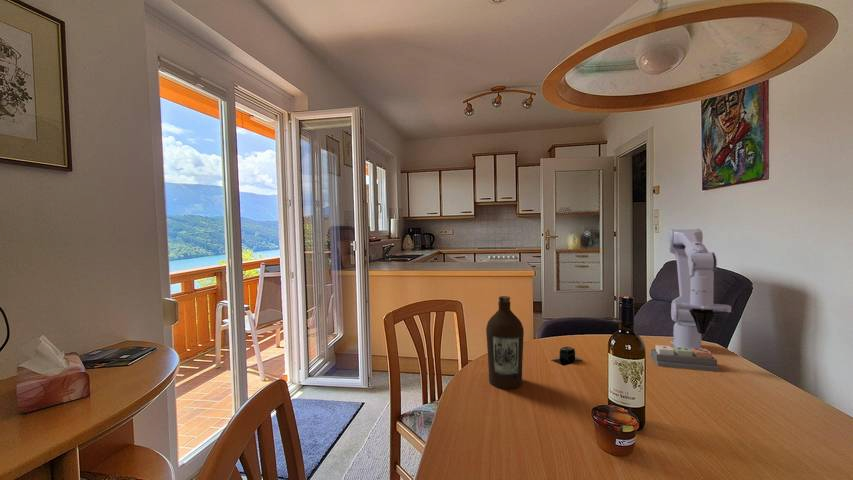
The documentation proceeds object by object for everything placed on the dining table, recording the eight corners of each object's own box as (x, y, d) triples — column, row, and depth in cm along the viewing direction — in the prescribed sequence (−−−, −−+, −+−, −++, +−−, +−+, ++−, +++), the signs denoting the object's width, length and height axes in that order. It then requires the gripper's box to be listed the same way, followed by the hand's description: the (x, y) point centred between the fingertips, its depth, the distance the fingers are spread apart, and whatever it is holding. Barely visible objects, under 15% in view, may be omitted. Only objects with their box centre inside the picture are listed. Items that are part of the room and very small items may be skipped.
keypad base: (650, 356, 117) (650, 347, 117) (706, 361, 112) (706, 352, 112) (657, 365, 110) (658, 355, 110) (718, 371, 105) (718, 361, 104)
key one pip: (655, 351, 115) (655, 344, 115) (669, 352, 114) (669, 345, 114) (659, 355, 111) (659, 348, 111) (674, 356, 110) (674, 349, 110)
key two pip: (673, 352, 113) (673, 346, 113) (687, 353, 112) (687, 347, 112) (677, 356, 110) (677, 350, 109) (692, 358, 108) (692, 351, 108)
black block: (562, 369, 110) (562, 355, 110) (545, 361, 116) (545, 348, 116) (589, 362, 115) (589, 348, 115) (571, 354, 122) (571, 342, 122)
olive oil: (486, 373, 106) (485, 293, 105) (521, 375, 105) (521, 293, 104) (487, 389, 96) (486, 300, 95) (526, 391, 94) (525, 301, 93)
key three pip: (691, 353, 112) (691, 347, 112) (705, 355, 111) (705, 348, 110) (696, 358, 108) (696, 351, 108) (711, 359, 107) (711, 352, 107)
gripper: (679, 291, 107) (679, 334, 107) (736, 293, 103) (736, 338, 103) (671, 288, 114) (671, 328, 114) (724, 289, 109) (724, 331, 110)
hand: (701, 333), depth 109 cm, fingers closed
